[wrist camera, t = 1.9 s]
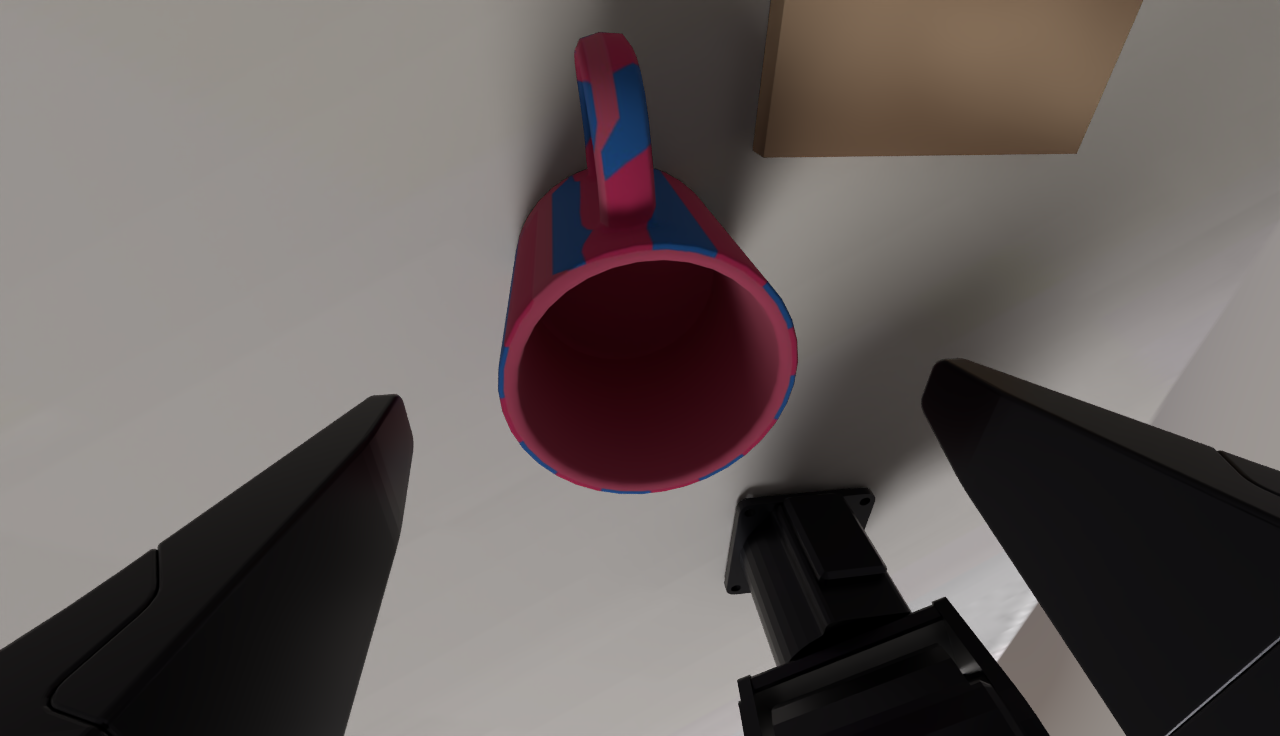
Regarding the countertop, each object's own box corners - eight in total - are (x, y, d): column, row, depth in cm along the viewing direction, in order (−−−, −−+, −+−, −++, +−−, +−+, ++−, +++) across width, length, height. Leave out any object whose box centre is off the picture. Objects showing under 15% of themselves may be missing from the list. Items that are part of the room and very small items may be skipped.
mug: (526, 362, 19) (516, 507, 13) (486, 27, 14) (439, 33, 8) (710, 350, 20) (774, 483, 14) (742, 31, 14) (866, 38, 9)
